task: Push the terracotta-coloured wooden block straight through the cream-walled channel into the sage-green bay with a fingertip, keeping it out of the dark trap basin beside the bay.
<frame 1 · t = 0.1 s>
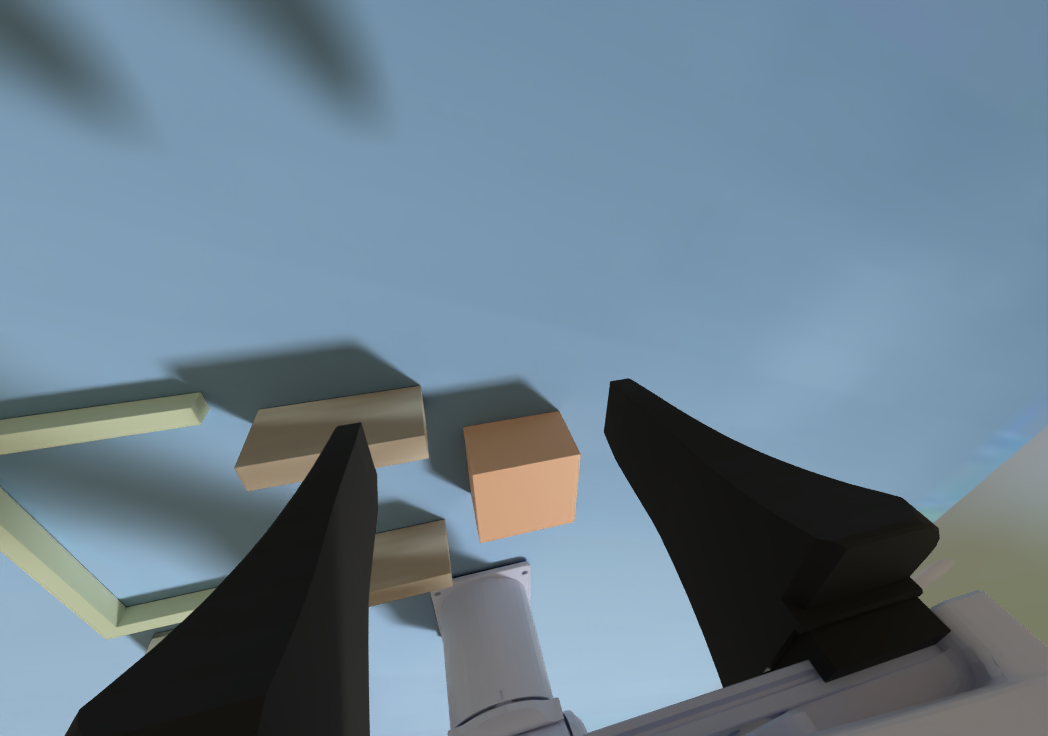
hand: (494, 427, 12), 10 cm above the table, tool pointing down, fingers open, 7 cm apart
terracotta block: (512, 451, 28), on the table
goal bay: (162, 520, 24), on the table
channel walls: (368, 481, 26), on the table
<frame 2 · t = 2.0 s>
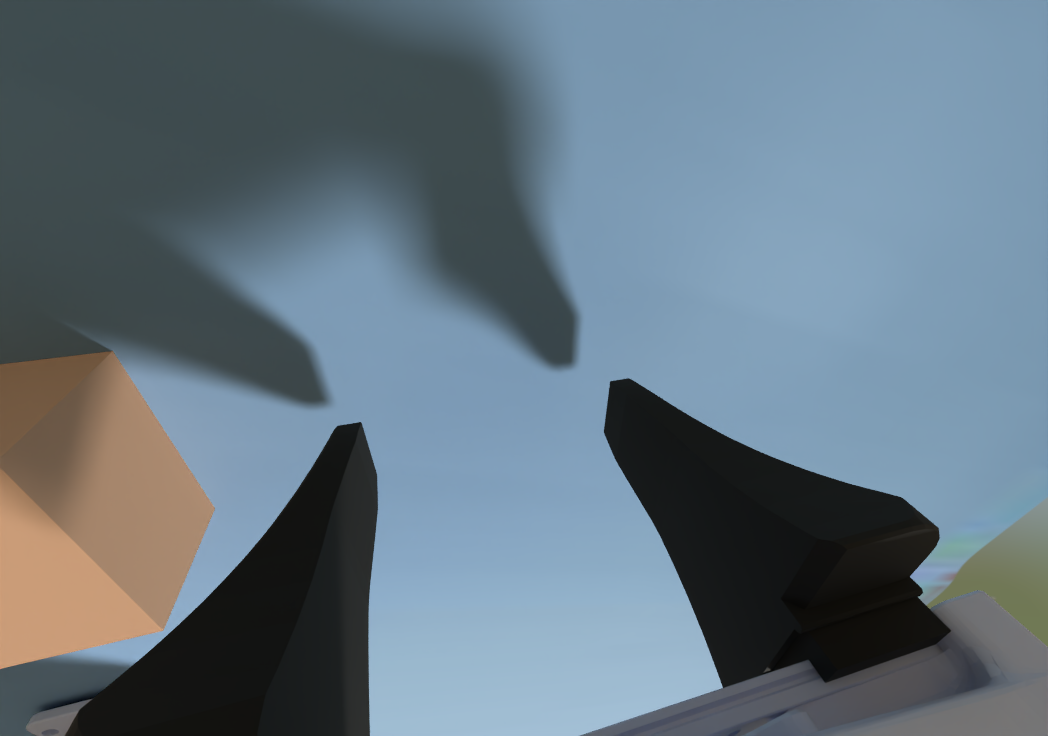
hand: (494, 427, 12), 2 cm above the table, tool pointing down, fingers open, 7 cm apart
terracotta block: (49, 455, 12), on the table
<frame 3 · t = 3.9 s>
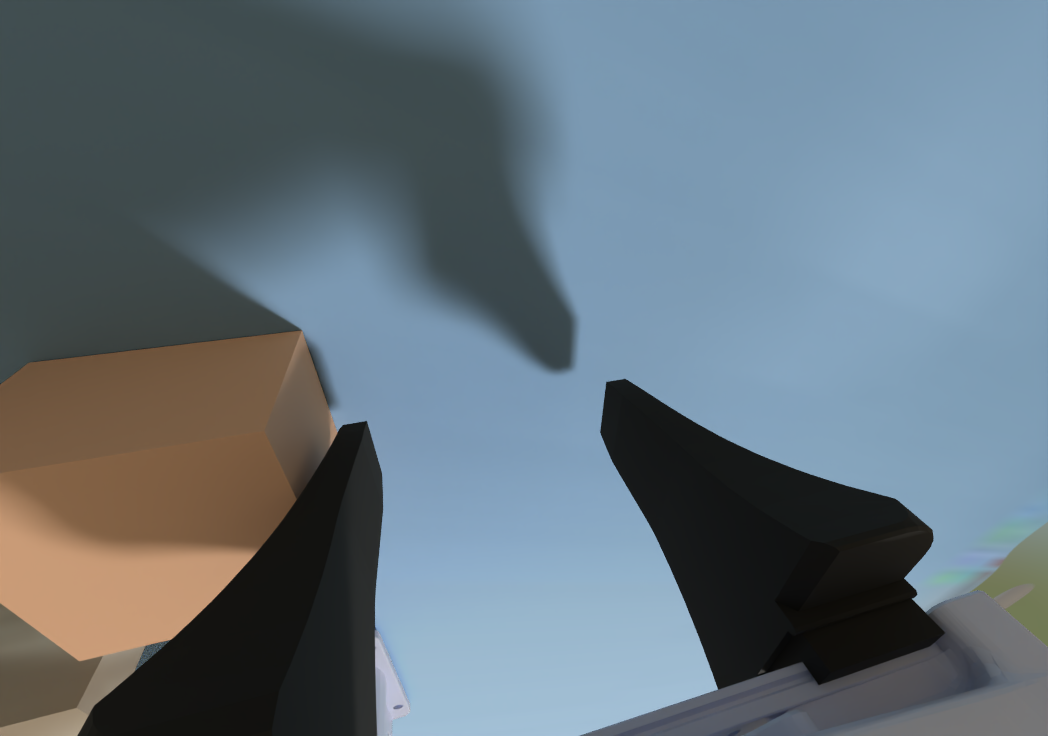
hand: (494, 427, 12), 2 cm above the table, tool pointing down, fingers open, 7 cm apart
terracotta block: (222, 434, 12), on the table, touching gripper
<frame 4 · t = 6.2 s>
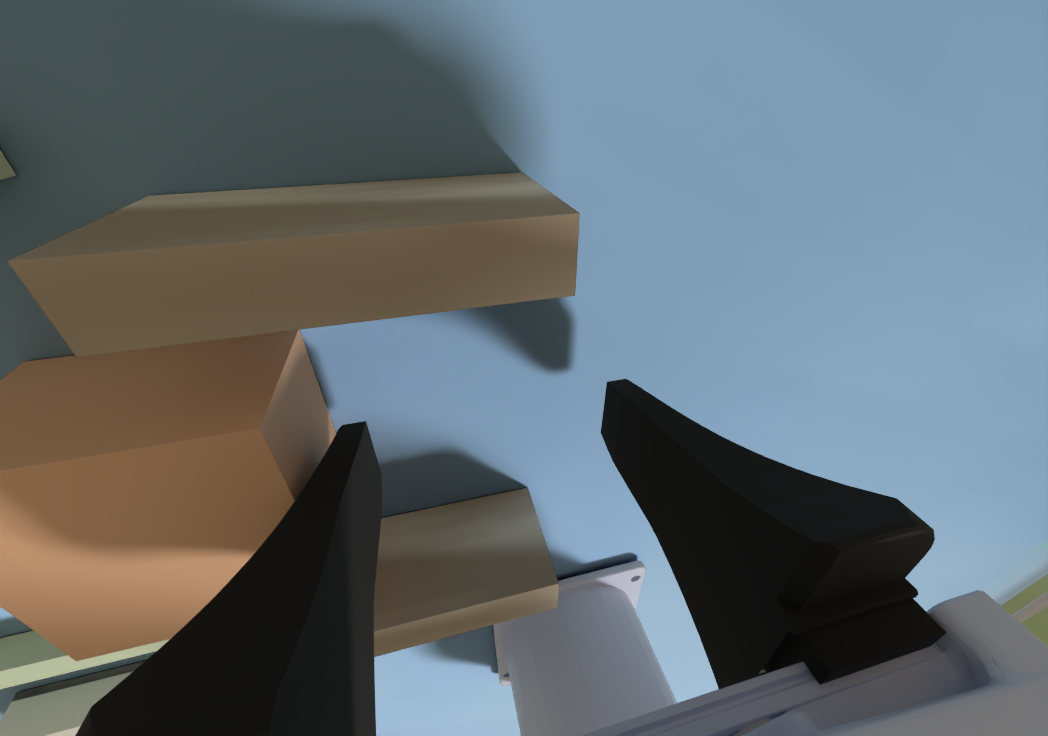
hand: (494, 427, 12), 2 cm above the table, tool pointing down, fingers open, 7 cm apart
terracotta block: (219, 433, 12), on the table, touching gripper
trap basin: (223, 707, 20), on the table
channel walls: (401, 406, 13), on the table
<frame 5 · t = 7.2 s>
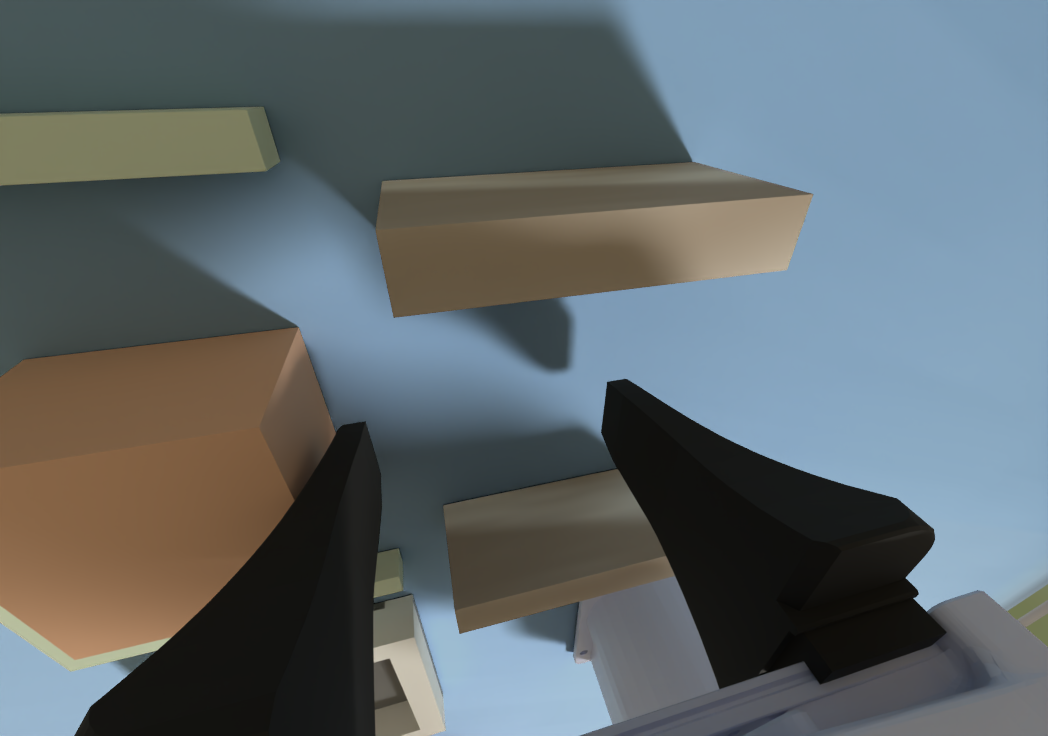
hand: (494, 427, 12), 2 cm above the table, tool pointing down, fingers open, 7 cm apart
terracotta block: (219, 432, 12), on the table, touching gripper
trap basin: (327, 678, 21), on the table
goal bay: (172, 443, 12), on the table
channel walls: (545, 383, 14), on the table
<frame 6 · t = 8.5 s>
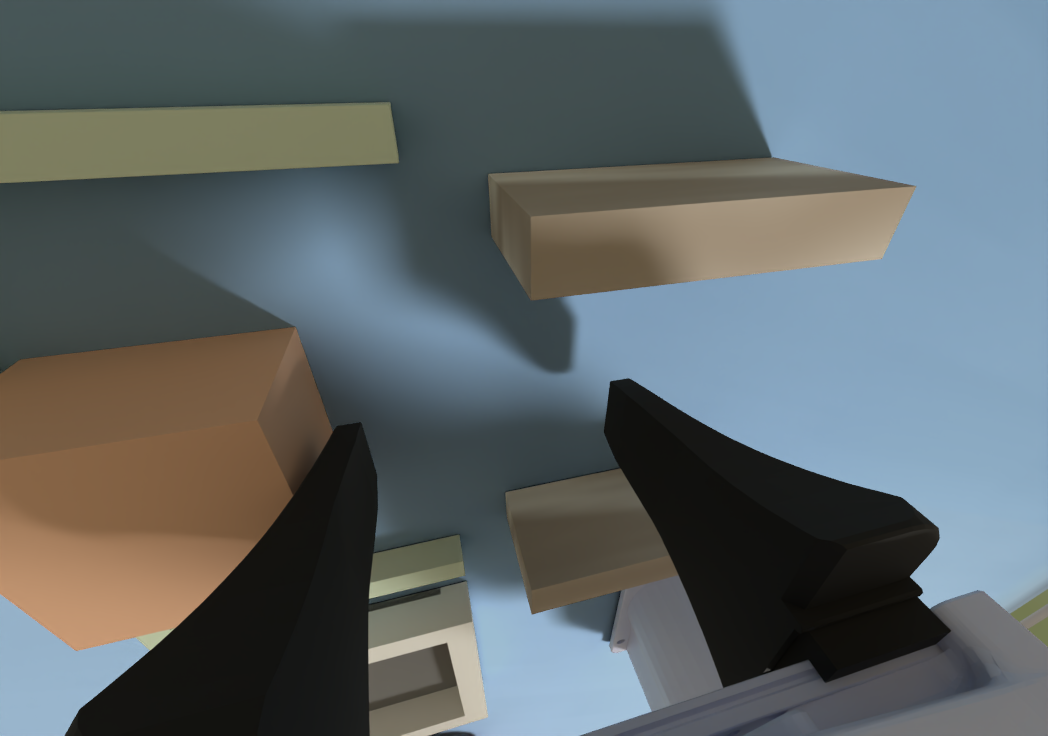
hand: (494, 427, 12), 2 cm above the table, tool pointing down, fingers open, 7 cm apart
terracotta block: (218, 427, 12), on the table
trap basin: (377, 664, 21), on the table
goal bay: (265, 427, 12), on the table
channel walls: (613, 372, 15), on the table
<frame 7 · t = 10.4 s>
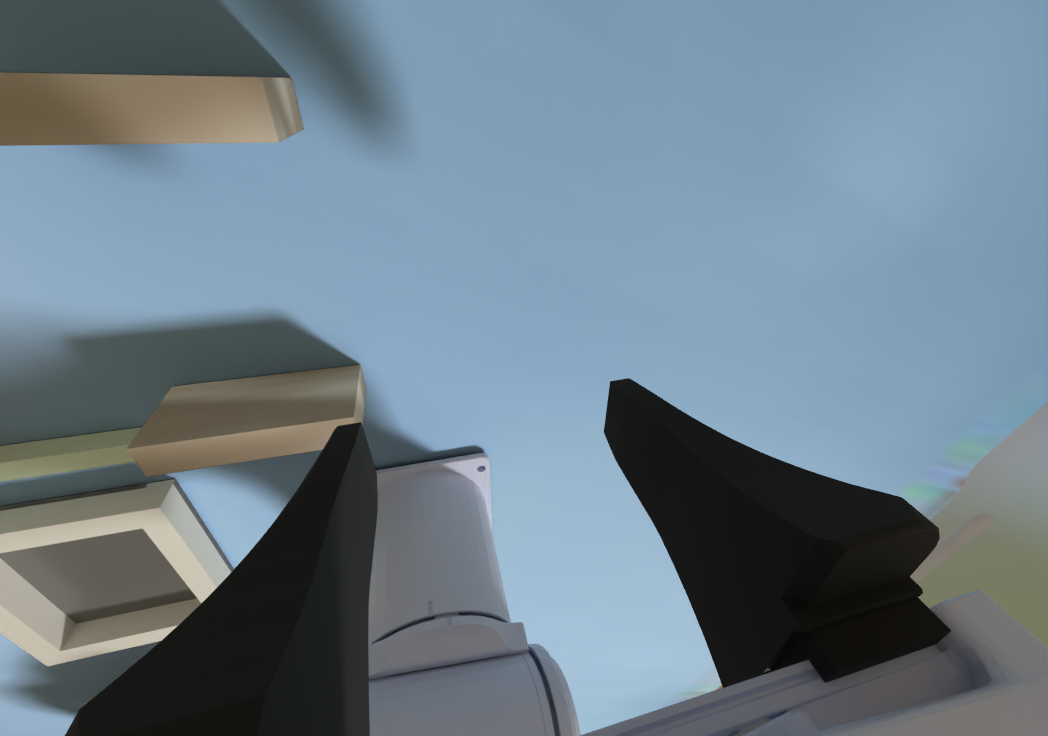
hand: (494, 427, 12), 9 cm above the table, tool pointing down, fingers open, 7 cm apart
trap basin: (116, 562, 24), on the table
channel walls: (230, 272, 17), on the table
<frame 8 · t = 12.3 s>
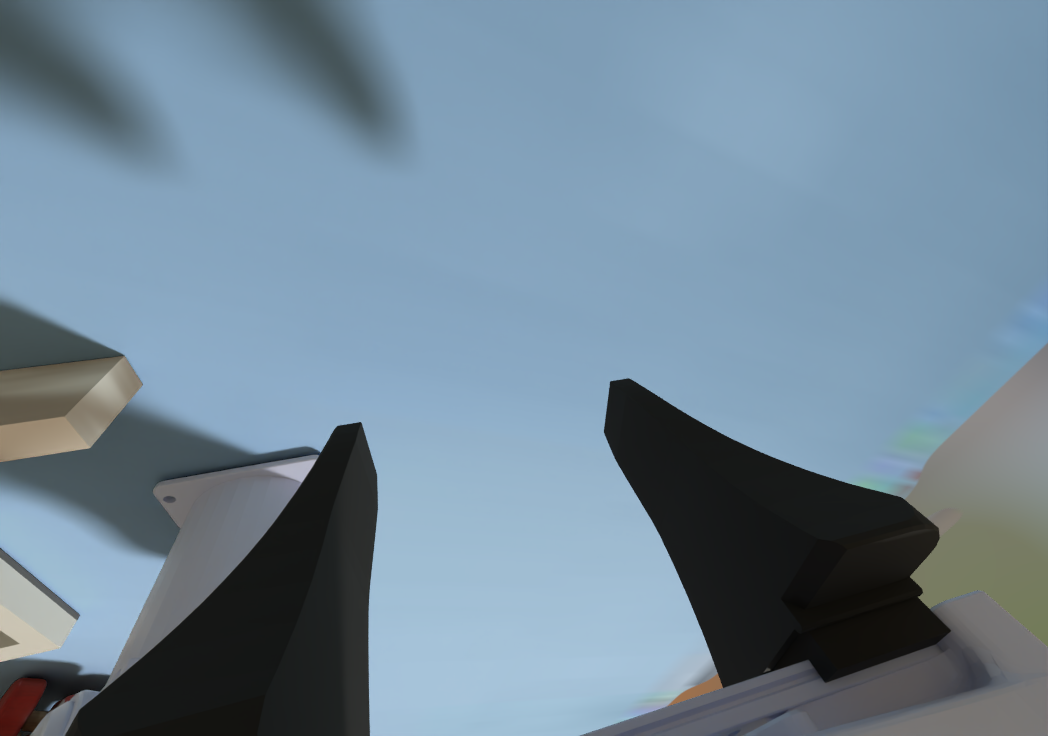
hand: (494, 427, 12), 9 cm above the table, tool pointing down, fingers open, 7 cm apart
toy fire truck: (63, 701, 30), on the table
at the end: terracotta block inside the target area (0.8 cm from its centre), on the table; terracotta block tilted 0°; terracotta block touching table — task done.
